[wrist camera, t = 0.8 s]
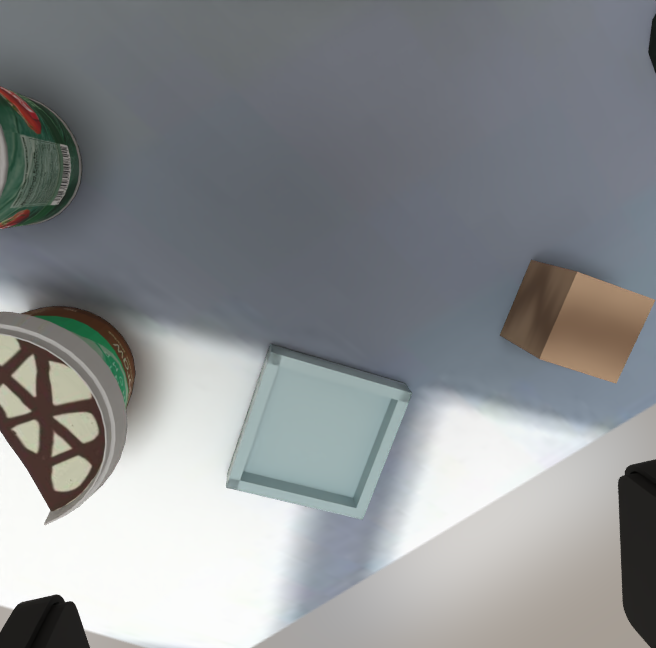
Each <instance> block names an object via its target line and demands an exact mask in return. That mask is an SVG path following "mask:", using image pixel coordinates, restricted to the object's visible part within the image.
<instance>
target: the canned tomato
mask: <svg viewBox="0 0 656 648" xmlns="http://www.w3.org/2000/svg"><path fill="white" fill-rule="evenodd" d="M81 174H82V164H81V156H80V152H79V148H78V145H77V143H76V141H75V138H74V136H73V134H72V132H71V131H70V130H69V128H68V127H67V125H66V124H65V122H64V121H63V120H62V119H61V118H60V117H59V116H58V115H57V114H56V113H55V112H53V111H52V110H51V109H49V108H48V107H46V106H45V105H44V104H42V103H40V102H38V101H36V100H34V99H32V98H29V97H25V96H22V95H20V94H18V93H15V92H13V91H10V90H8V89H6V88H3V87H1V86H0V229H4V228H10V227H16V226H22V225H32V224H39V223H41V222H44V221H47V220H50V219H52V218H53V217H55V216H57V215H58V214H60V213H61V212H62V211H63V210H64V209H65V208H66V207H67V206H68V205H69V204H70V203H71V201H72V200H73V198H74V197H75V195H76V193H77V190H78V188H79V185H80V180H81Z"/></svg>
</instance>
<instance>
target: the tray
mask: <svg viewBox="0 0 656 648" xmlns="http://www.w3.org/2000/svg"><path fill="white" fill-rule="evenodd" d="M411 395H412V392H411V391H410V390H409V388H408V387H407V386H406V384H405V383H401V382H398V381H395V380H391V379H388V378H384V377H381V376H378V375H374V374H371V373H367V372H364V371H361V370H357V369H354V368H350V367H347V366H344V365H340V364H337V363H333V362H330V361H327V360H323V359H320V358H316V357H313V356H310V355H306V354H303V353H299V352H296V351H292V350H289V349H286V348H282V347H279V346H275V345H272V344H270V346H269V350H268V353H267V356H266V359H265V362H264V365H263V368H262V371H261V374H260V377H259V380H258V383H257V386H256V389H255V392H254V395H253V398H252V401H251V404H250V407H249V410H248V413H247V416H246V419H245V422H244V425H243V428H242V431H241V434H240V437H239V440H238V443H237V446H236V449H235V452H234V455H233V458H232V461H231V464H230V467H229V470H228V473H227V482H226V488H230V489H234V490H239V491H243V492H247V493H251V494H256V495H260V496H264V497H268V498H273V499H277V500H281V501H285V502H290V503H294V504H298V505H302V506H307V507H311V508H315V509H319V510H324V511H328V512H332V513H336V514H340V515H345V516H349V517H353V518H357V519H362V520H363V517H364V515H365V512H366V510H367V507H368V505H369V502H370V499H371V497H372V494H373V492H374V489H375V487H376V484H377V482H378V479H379V477H380V474H381V471H382V469H383V466H384V464H385V461H386V459H387V456H388V454H389V451H390V449H391V446H392V443H393V441H394V438H395V436H396V433H397V431H398V428H399V426H400V423H401V421H402V418H403V415H404V413H405V410H406V408H407V405H408V403H409V400H410V398H411Z"/></svg>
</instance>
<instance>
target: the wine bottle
mask: <svg viewBox="0 0 656 648" xmlns="http://www.w3.org/2000/svg"><path fill="white" fill-rule="evenodd" d="M649 55H650V58H651V61H652V64H653V66H654V69H655V72H656V15H655V17H654V18H653V21H652V29H651V37H650V45H649Z"/></svg>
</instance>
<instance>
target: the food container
mask: <svg viewBox="0 0 656 648" xmlns="http://www.w3.org/2000/svg"><path fill="white" fill-rule="evenodd" d="M134 378H135V367H134V360H133V356H132V353H131V351H130V348H129V346H128V345H127V343H126V341H125V339H124V338H123V337H122V336H121V334H120V333H119V332H118V331H117V330H116V329H115V328H114V327H113V326H112V325H111V324H110V323H108V322H107V321H105V320H104V319H102V318H101V317H99V316H97V315H95V314H92V313H90V312H88V311H85V310H81V309H78V308H72V307H66V306H52V307H44V308H39V309H35V310H32V311H28V312H24V313H21V314H19V313H13V312H0V431H1V433H2V434H3V436H4V437H5V439H6V440H7V442H8V443H9V445H10V446H11V447H12V449H13V450H14V451H15V453H16V454H17V455H18V457H19V458H20V460H21V461H22V463H23V464H24V466H25V467H26V468H27V470H28V472H29V474H30V475H31V477H32V479H33V480H34V482H35V484H36V486H37V487H38V489H39V491H40V492H41V494H42V496H43V498H44V500H45V501H46V503H47V505H48V507H49V508H50V510H51V511H50V513H49V515H48V517H47V519H46V521H45V523H44V525H47V524H49V523H51V522H53V521H55V520H57V519H59V518H61V517H63V516H66V515H67V514H69V513H70V512H72V511H73V510H75V509H76V508H78V507H79V506H80V505H81V504H83V503H84V502H85V501H86V500H87V499H88V498H89V497H90V496H91V495H92V494H94V493H95V492H96V491H97V490H98V489H99V488H100V487H101V486H102V485H103V484H104V482H105V481H106V480H107V479H108V477H109V476H110V475H111V474H112V472H113V470H114V469H115V467H116V465H117V463H118V461H119V459H120V457H121V454H122V451H123V448H124V445H125V439H126V432H127V412H126V407H127V405H128V402H129V399H130V397H131V394H132V390H133V384H134Z"/></svg>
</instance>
